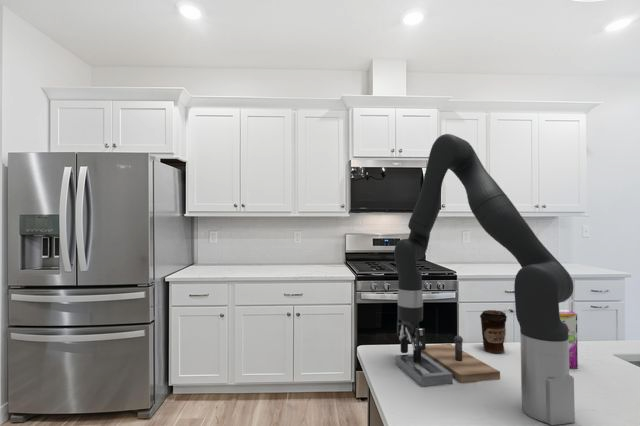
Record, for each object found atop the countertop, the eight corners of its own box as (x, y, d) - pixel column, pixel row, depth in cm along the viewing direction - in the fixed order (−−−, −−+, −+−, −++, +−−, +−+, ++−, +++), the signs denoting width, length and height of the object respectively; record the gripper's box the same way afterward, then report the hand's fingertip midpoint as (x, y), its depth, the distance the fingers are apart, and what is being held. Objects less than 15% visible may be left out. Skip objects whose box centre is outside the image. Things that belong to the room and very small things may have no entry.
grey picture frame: (452, 383, 95) (452, 373, 95) (421, 387, 93) (421, 376, 93) (422, 361, 110) (422, 353, 110) (395, 364, 108) (395, 355, 109)
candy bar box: (539, 368, 106) (538, 312, 106) (531, 361, 111) (529, 308, 111) (579, 369, 105) (578, 313, 105) (569, 363, 110) (567, 309, 110)
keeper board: (500, 379, 98) (499, 344, 98) (461, 382, 95) (460, 348, 96) (450, 349, 121) (449, 322, 122) (417, 352, 119) (417, 324, 119)
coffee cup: (513, 355, 116) (512, 315, 116) (487, 355, 116) (486, 314, 117) (500, 346, 125) (499, 309, 125) (476, 346, 125) (475, 308, 125)
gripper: (433, 308, 103) (433, 365, 103) (410, 298, 117) (411, 348, 117) (409, 309, 102) (409, 367, 101) (389, 299, 116) (389, 350, 115)
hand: (410, 357), depth 109 cm, fingers open, 8 cm apart
